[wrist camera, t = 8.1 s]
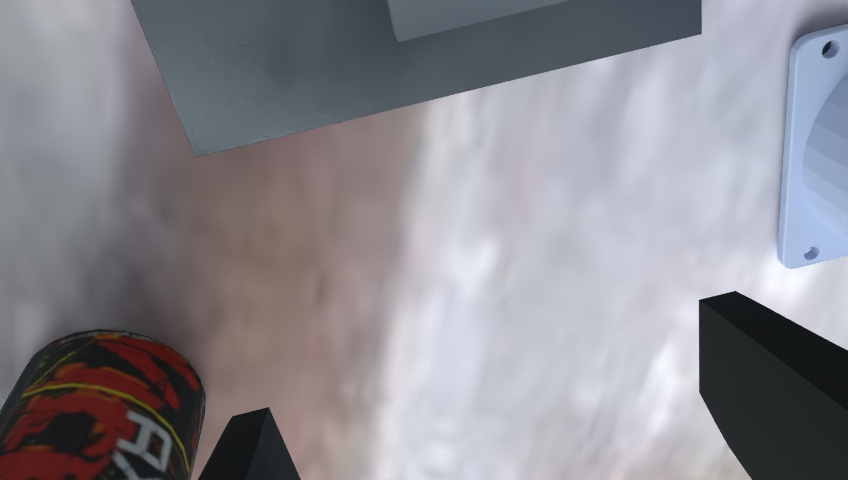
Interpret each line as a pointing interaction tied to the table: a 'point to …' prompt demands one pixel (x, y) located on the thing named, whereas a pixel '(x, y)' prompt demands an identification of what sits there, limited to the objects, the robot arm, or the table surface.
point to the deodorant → (102, 412)
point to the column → (451, 14)
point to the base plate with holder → (366, 57)
